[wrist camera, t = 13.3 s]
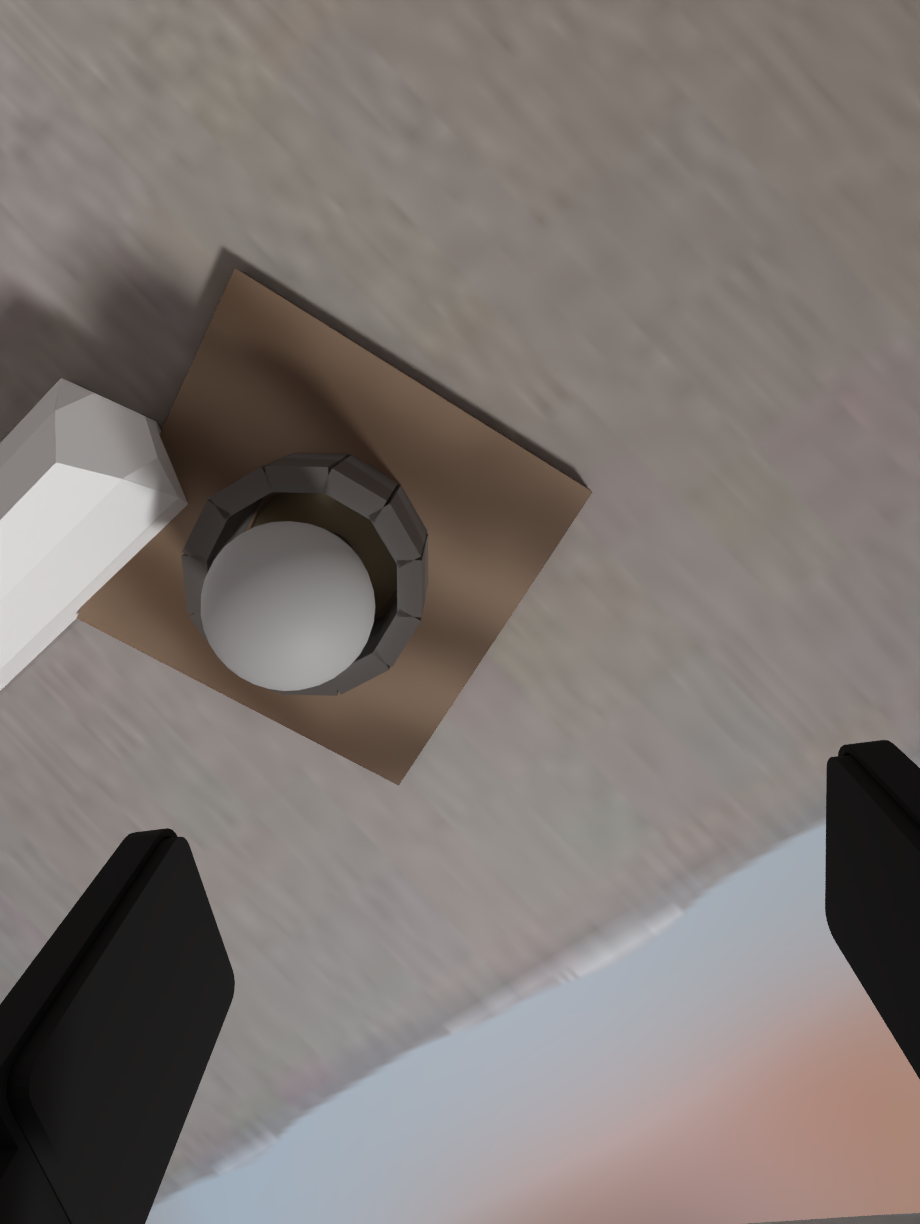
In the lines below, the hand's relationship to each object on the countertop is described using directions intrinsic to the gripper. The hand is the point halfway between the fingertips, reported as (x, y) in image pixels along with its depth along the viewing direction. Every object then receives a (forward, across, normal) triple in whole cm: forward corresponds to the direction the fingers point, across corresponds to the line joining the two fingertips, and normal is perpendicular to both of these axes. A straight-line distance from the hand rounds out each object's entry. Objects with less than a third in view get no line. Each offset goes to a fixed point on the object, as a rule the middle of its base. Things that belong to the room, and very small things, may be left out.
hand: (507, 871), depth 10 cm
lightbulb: (+24, +8, 0) cm, 25 cm away
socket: (+25, +8, 0) cm, 26 cm away
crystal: (+25, +24, -1) cm, 35 cm away
